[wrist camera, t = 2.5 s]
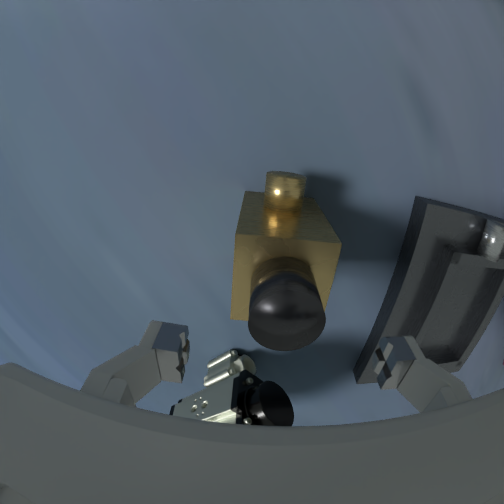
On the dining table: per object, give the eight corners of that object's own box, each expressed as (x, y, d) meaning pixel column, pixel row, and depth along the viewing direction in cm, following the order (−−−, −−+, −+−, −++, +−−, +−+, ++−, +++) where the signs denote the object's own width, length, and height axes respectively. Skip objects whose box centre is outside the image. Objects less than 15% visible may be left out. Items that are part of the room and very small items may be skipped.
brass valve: (247, 163, 19) (231, 212, 9) (317, 171, 19) (374, 228, 9) (238, 275, 23) (223, 384, 13) (299, 280, 23) (319, 388, 13)
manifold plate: (415, 196, 19) (444, 214, 15) (517, 224, 20) (542, 240, 16) (352, 370, 28) (361, 400, 24) (453, 361, 28) (465, 383, 24)
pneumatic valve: (289, 350, 27) (298, 459, 16) (209, 390, 30) (195, 479, 20) (253, 318, 25) (248, 438, 14) (173, 366, 29) (147, 460, 18)
